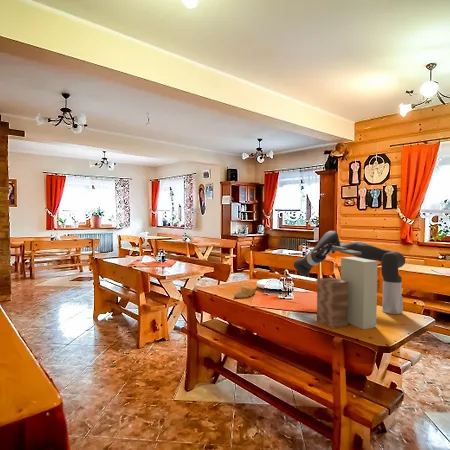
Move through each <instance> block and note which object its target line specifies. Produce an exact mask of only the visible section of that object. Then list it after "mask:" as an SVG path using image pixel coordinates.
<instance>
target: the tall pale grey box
mask: <svg viewBox="0 0 450 450" xmlns="http://www.w3.org/2000/svg"><path fill="white" fill-rule="evenodd" d="M378 262H379V261H376V260H368V259H363V258H359V257H356V256H347V257H346V256H344V257H340V280H343V281H346V282H348V324H351V326H355V327H357V328H359V329H361V330H367V329H368V330H369V329H373V328H374V327H375V328H377V310H378V309H377V307H378V306H377V305H378V304H377V303H378V301H377V300H378Z"/></svg>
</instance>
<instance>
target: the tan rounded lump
mask: <svg viewBox="0 0 450 450" xmlns="http://www.w3.org/2000/svg"><path fill="white" fill-rule="evenodd" d="M256 291H257V289H256V288H254V287H251V286H250V285H246V284H245V285H242V286H240V288H238V289H237V291H236V292H235V293H234V294H233V297H234V298H235V297H236V298H238V299H240V298H242V297H245V298H249V296H250V297H252V296H253V295H255V293H256Z"/></svg>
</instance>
